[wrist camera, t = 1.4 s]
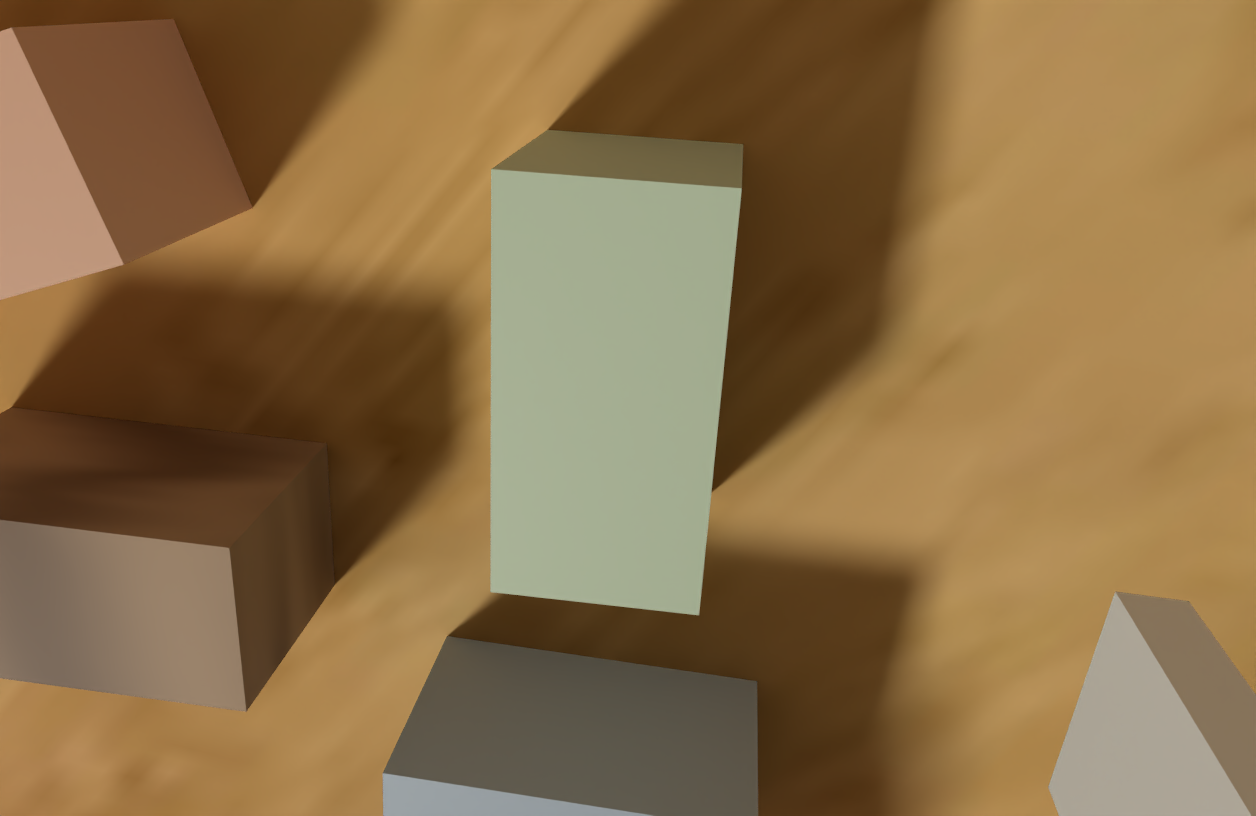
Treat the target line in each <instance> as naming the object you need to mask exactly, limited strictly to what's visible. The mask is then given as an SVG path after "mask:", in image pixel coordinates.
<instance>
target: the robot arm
mask: <svg viewBox="0 0 1256 816" xmlns="http://www.w3.org/2000/svg"><path fill="white" fill-rule="evenodd" d="M1048 788H1049V790H1050V793H1051V795H1052V798H1053V801H1054V803H1055V806H1056V809H1057V811H1058V814H1059V816H1256V694H1255V693H1254V692H1253V690H1252V689H1251V687H1250V686H1249V685H1248V683H1247V682H1246V681H1245V679H1244V678H1243V676H1242V675H1241V674H1240V672H1239V671H1238V669H1237V668H1236V667H1235V665H1234V664H1233V662H1232V661H1231V660H1230V658H1229V657H1228V655H1227V654H1226V653H1225V651H1224V650H1223V648H1222V647H1221V646H1220V644H1219V643H1218V641H1217V640H1216V639H1215V637H1214V636H1213V634H1212V633H1211V632H1210V630H1209V629H1208V627H1207V626H1206V625H1205V623H1204V622H1203V620H1202V619H1201V618H1200V616H1199V615H1198V613H1197V612H1196V611H1195V609H1194V608H1193V606H1192V605H1191V604H1190V602H1189V601H1183V600H1175V599H1167V598H1160V597H1152V596H1145V595H1137V594H1129V593H1122V592H1115V594H1114V597H1113V600H1112V603H1111V606H1110V609H1109V612H1108V614H1107V617H1106V620H1105V623H1104V626H1103V629H1102V632H1101V635H1100V638H1099V641H1098V644H1097V647H1096V649H1095V652H1094V655H1093V658H1092V661H1091V664H1090V667H1089V670H1088V673H1087V676H1086V679H1085V682H1084V684H1083V687H1082V690H1081V693H1080V696H1079V699H1078V702H1077V705H1076V708H1075V711H1074V714H1073V717H1072V719H1071V722H1070V725H1069V728H1068V731H1067V734H1066V737H1065V740H1064V743H1063V746H1062V749H1061V752H1060V754H1059V757H1058V760H1057V763H1056V766H1055V769H1054V772H1053V775H1052V778H1051V781H1050V784H1049V787H1048Z"/></svg>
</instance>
